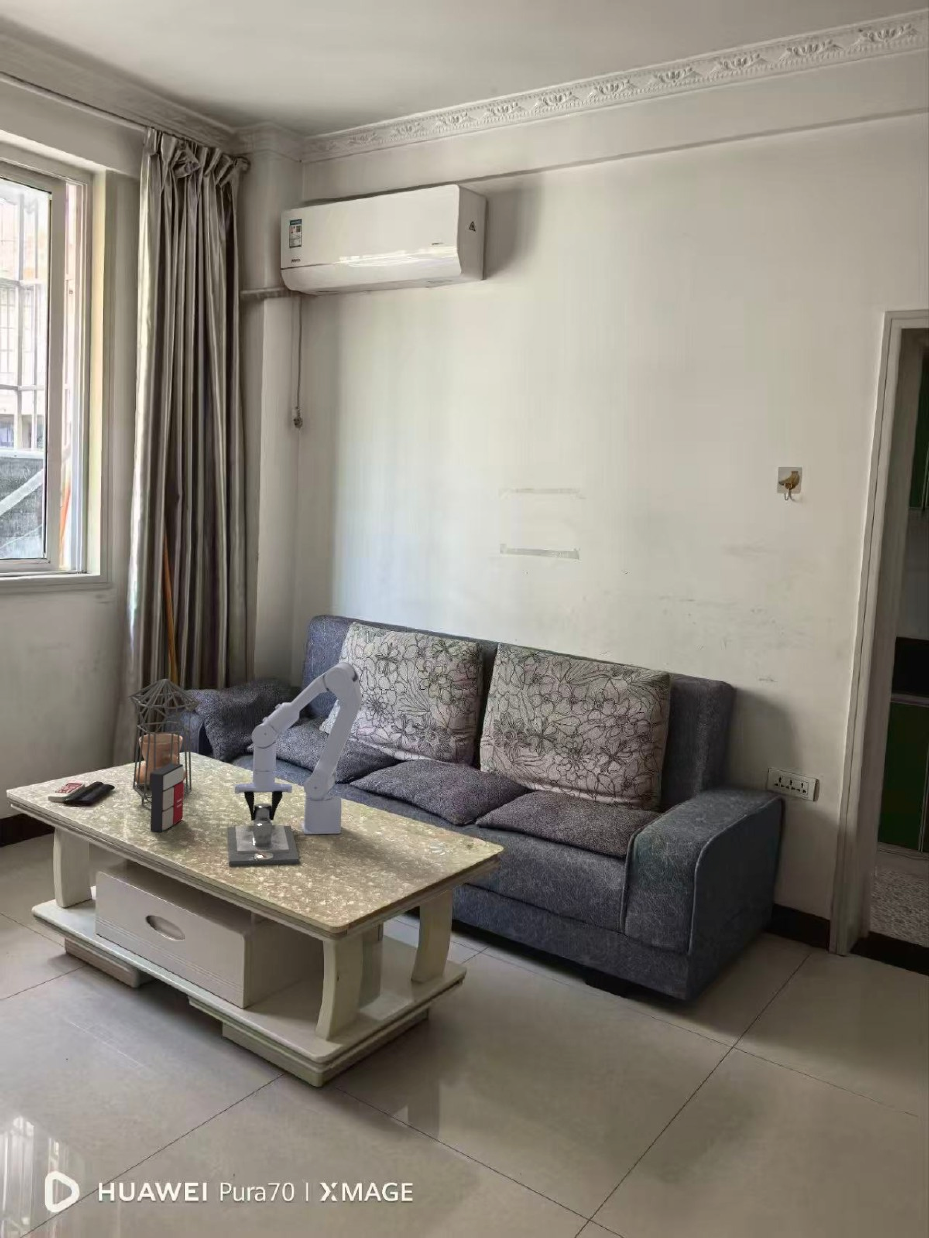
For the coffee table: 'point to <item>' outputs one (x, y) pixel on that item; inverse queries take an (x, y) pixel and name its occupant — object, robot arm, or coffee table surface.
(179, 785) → the grey and red box
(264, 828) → the cylinder
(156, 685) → the geometric lantern
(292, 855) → the base
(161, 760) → the ceramic jug
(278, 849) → the pan
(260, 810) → the cylinder
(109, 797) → the coffee table surface
